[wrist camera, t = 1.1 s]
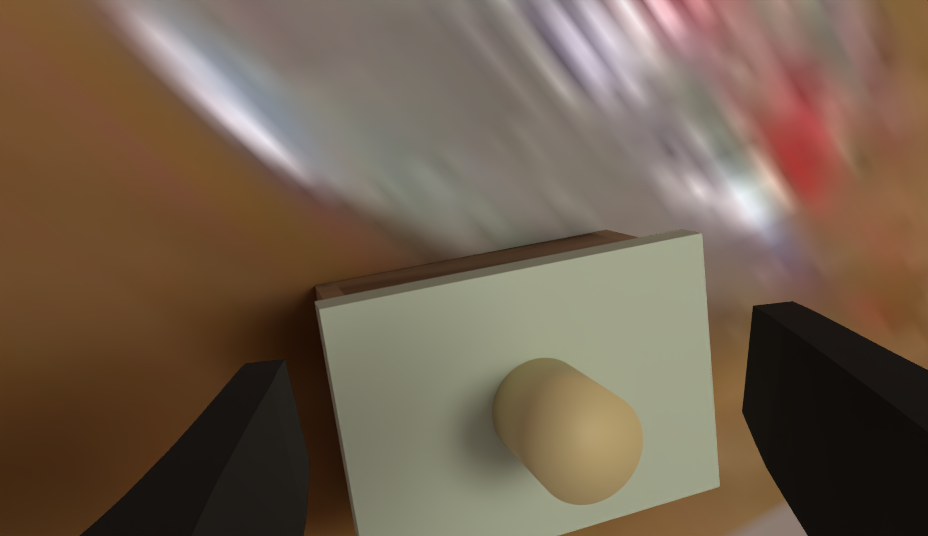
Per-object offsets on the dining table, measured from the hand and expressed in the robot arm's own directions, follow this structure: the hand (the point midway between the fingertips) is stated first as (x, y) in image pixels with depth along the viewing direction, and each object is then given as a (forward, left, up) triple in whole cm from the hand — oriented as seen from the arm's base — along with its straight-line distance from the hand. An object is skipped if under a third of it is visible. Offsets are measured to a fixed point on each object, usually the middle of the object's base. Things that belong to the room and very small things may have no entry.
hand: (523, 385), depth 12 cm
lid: (-4, -3, -9) cm, 10 cm away
